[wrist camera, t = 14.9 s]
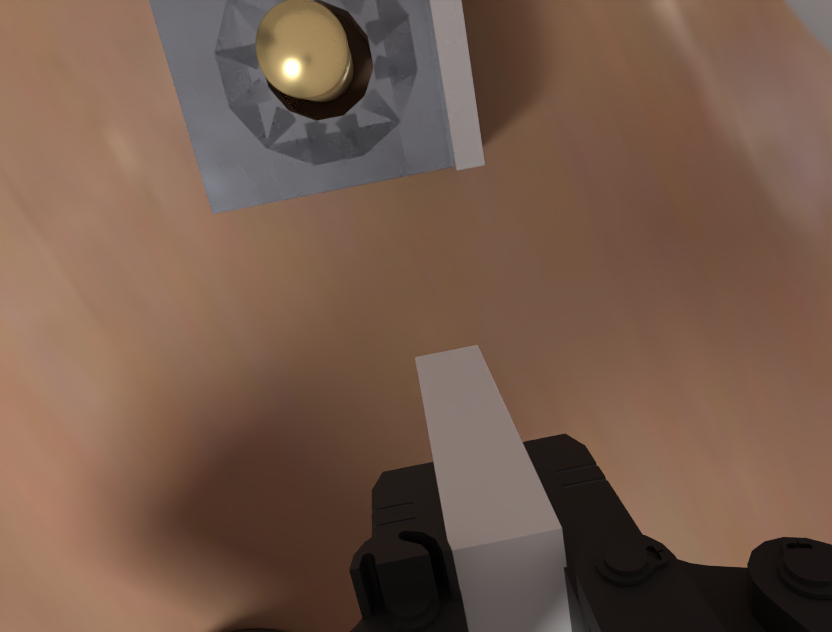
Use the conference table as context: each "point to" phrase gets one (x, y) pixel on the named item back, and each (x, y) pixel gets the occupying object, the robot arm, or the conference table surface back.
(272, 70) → the cylinder
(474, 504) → the robot arm
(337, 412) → the conference table surface
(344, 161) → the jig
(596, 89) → the conference table surface
